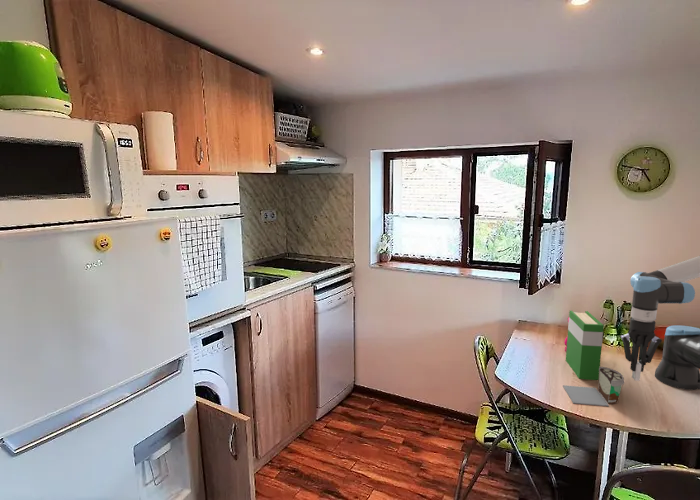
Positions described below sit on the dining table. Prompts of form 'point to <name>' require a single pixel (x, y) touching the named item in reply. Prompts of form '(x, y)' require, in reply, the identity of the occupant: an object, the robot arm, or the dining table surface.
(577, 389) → the mat
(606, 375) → the food container
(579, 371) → the hardback book
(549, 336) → the dining table surface
